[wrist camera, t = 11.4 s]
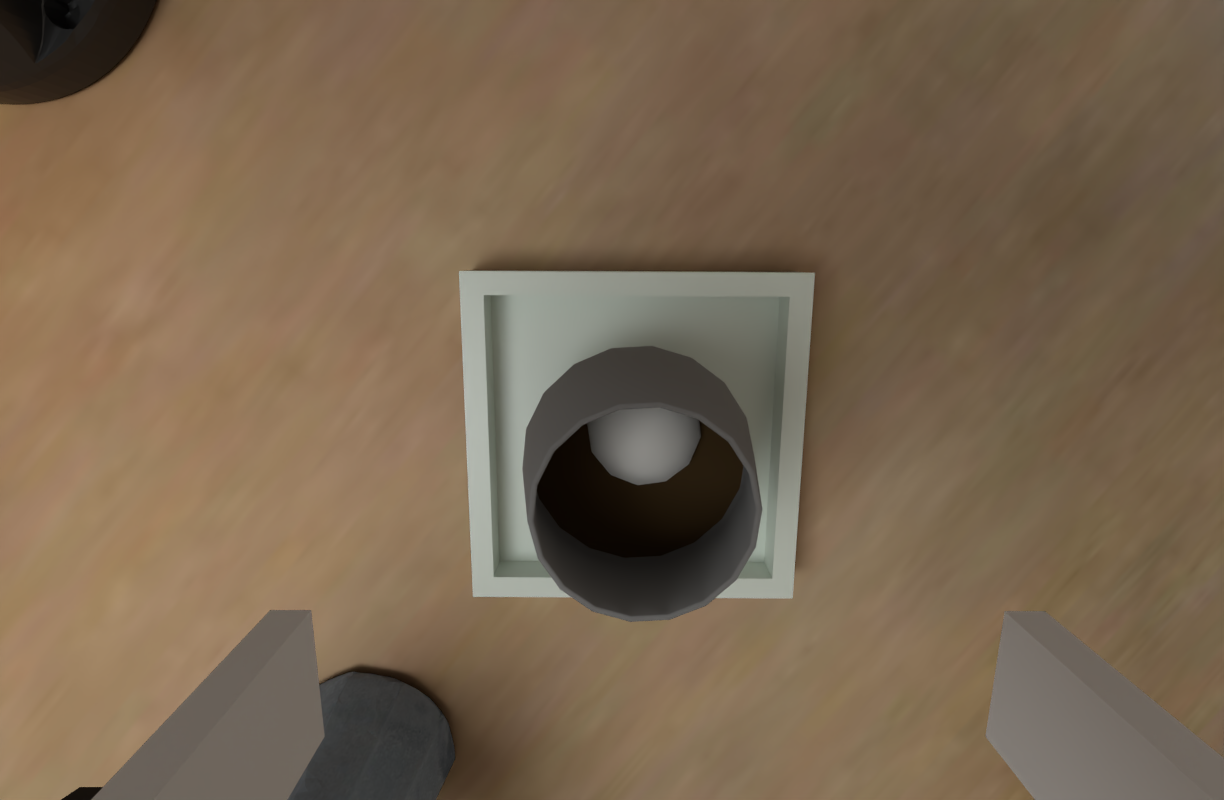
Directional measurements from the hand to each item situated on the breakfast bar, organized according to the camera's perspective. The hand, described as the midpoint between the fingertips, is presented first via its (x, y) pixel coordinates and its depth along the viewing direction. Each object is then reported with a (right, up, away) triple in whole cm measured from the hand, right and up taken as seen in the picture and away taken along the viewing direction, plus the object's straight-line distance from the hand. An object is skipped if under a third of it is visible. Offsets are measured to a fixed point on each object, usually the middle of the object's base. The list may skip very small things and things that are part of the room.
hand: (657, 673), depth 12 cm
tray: (0, +4, +19) cm, 19 cm away
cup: (0, +4, +18) cm, 19 cm away
